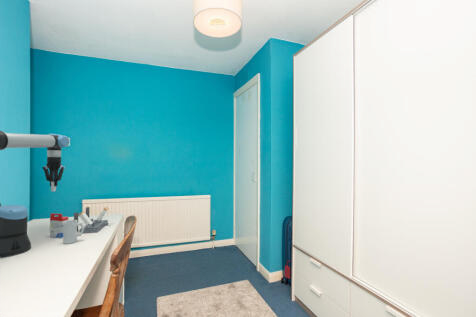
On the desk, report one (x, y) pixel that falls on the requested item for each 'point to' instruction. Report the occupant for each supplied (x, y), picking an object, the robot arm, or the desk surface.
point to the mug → (71, 231)
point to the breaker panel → (94, 226)
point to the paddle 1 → (85, 218)
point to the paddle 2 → (102, 214)
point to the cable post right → (88, 212)
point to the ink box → (57, 225)
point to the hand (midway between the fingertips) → (53, 191)
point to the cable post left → (76, 218)
